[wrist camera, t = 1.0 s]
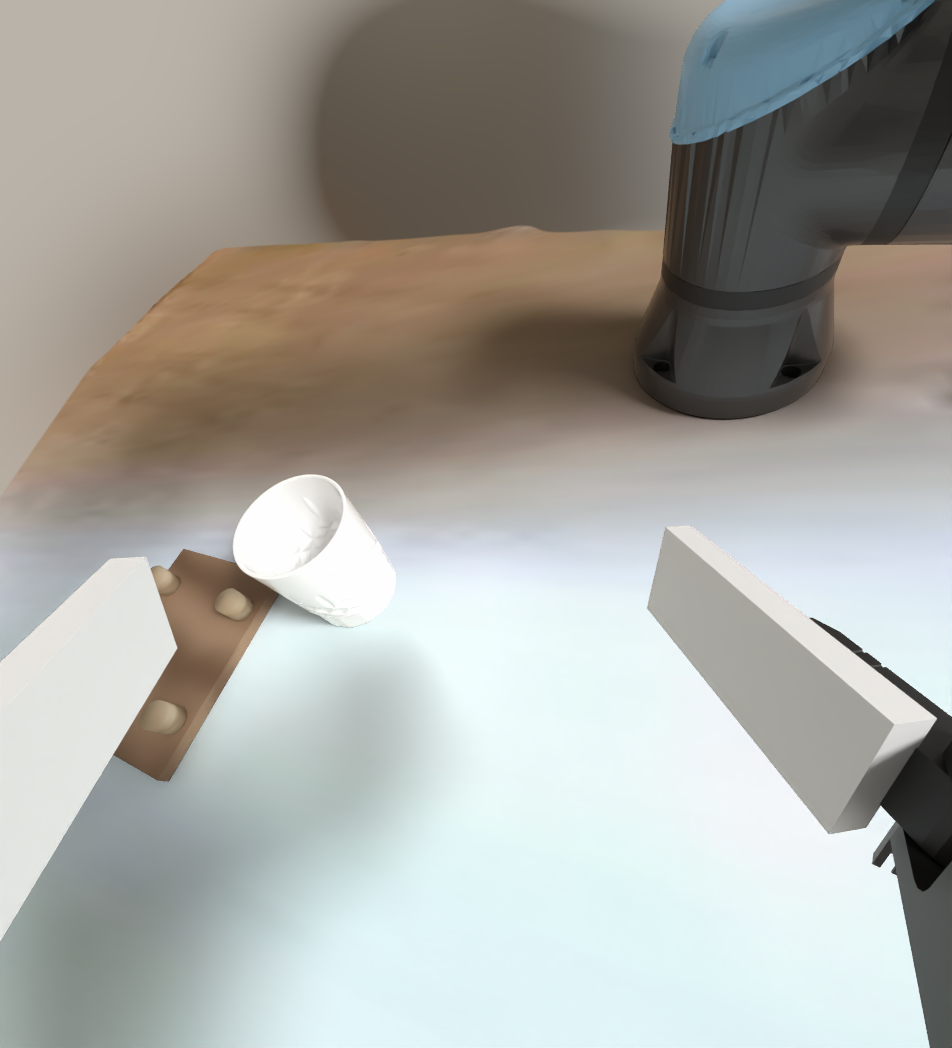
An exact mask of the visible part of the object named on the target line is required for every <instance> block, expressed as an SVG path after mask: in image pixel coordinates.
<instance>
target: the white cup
mask: <svg viewBox="0 0 952 1048" xmlns="http://www.w3.org/2000/svg"><path fill="white" fill-rule="evenodd" d="M233 555H234V559H235V561H236V563H237V565H238V566H239V568H240V569H241V570H242V571H243V572H244V573H246V574H247V575H249V576H251V577H252V578H254V579H256V580H257V581H259V582H261V583H262V584H264V585H266V586H267V587H269V588H270V589H272V590H274V591H275V592H277V593H279V594H280V595H282V596H283V597H285V598H287V599H288V600H290V601H292V602H293V603H295V604H297V605H299V606H301V607H302V608H304V609H306V610H307V611H309V612H311V613H314V614H316V615H319V616H320V617H322V618H324V619H325V620H327V621H328V622H330V623H331V624H333V625H335V626H342V627H350V628H353V627H356V626H359V625H362V624H365V623H368V622H370V621H371V620H373V619H374V618H375V617H376V616H377V615H379V614H380V613H381V612H382V611H383V610H385V608H386V607H387V605H388V603H389V601H390V599H391V598H392V596H393V594H394V592H395V583H396V573H395V570H394V568H393V566H392V564H391V561H390V560H389V558H388V557H387V555H386V554H385V553H384V551H383V549H382V547H381V545H380V544H379V542H378V541H377V539H376V538H375V536H374V534H373V533H372V531H371V530H370V528H369V527H368V525H367V524H366V523H365V521H364V520H363V518H362V517H361V516H360V514H359V513H358V511H357V510H356V509H355V507H354V506H353V504H352V503H351V502H350V500H349V499H348V497H347V496H346V494H345V493H344V492H343V490H342V489H341V487H340V486H339V485H338V484H337V483H336V482H335V481H333V480H332V479H330V478H328V477H325V476H322V475H315V474H307V475H300V476H296V477H292V478H289V479H286V480H284V481H282V482H280V483H278V484H276V485H274V486H273V487H271V488H270V489H268V490H267V491H265V492H264V493H263V494H262V495H260V496H259V497H258V498H257V499H256V500H255V501H254V502H253V503H252V504H251V505H250V507H249V508H248V509H247V510H246V512H245V513H244V515H243V516H242V518H241V520H240V521H239V523H238V526H237V528H236V531H235V534H234V538H233Z"/></svg>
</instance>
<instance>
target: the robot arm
mask: <svg viewBox="0 0 952 1048" xmlns="http://www.w3.org/2000/svg"><path fill="white" fill-rule="evenodd" d="M670 138H671V139H672V142H673V143H672V155H671V167H670V179H669V190H668V204H667V214H666V227H665V238H664V249H663V262H662V271H661V278H660V281H659V283H658V285H657V287H656V290H655V292H654V294H653V297H652V299H651V301H650V304H649V306H648V308H647V311H646V313H645V315H644V317H643V320H642V322H641V324H640V327H639V329H638V332H637V335H636V339H635V346H634V371H635V374H636V377H637V379H638V381H639V383H640V384H641V386H642V387H643V388H644V390H645V391H646V392H647V393H648V394H649V395H651V396H652V397H653V398H654V399H656V400H657V401H659V402H660V403H662V404H664V405H666V406H668V407H670V408H672V409H675V410H677V411H680V412H683V413H687V414H691V415H695V416H700V417H708V418H721V419H729V418H743V417H751V416H756V415H761V414H765V413H768V412H772V411H775V410H777V409H780V408H782V407H785V406H787V405H789V404H791V403H792V402H794V401H796V400H797V399H799V398H800V397H802V396H803V395H805V394H806V393H807V392H808V391H809V390H810V389H811V388H812V387H813V386H814V385H815V383H816V382H817V380H818V379H819V377H820V375H821V373H822V371H823V369H824V366H825V364H826V362H827V360H828V358H829V355H830V353H831V350H832V345H833V339H834V276H835V273H836V271H837V268H838V266H839V263H840V260H841V258H842V255H843V253H844V250H845V248H846V247H847V246H851V245H919V244H952V0H725V1H724V2H723V3H722V4H720V5H719V6H718V7H717V8H716V9H715V10H713V11H712V12H711V13H710V14H709V15H708V17H707V18H706V19H705V20H704V21H703V22H702V23H701V25H700V26H699V28H698V29H697V30H696V32H695V33H694V35H693V37H692V39H691V41H690V43H689V45H688V47H687V50H686V52H685V55H684V59H683V64H682V70H681V77H680V85H679V91H678V98H677V105H676V112H675V119H674V120H673V123H672V126H671V130H670ZM647 609H648V610H649V611H650V612H651V614H652V615H653V616H654V617H655V619H656V620H657V621H658V622H659V624H660V625H661V626H662V627H663V629H664V630H665V631H666V632H667V634H668V635H669V636H670V637H671V639H672V640H673V641H674V642H675V644H676V645H677V646H678V647H679V649H680V650H681V651H682V652H683V654H684V655H685V656H686V657H687V659H688V660H689V661H690V662H691V663H692V665H693V666H694V667H695V668H696V670H697V671H698V672H699V673H700V675H701V676H702V677H703V678H704V680H705V681H706V682H707V683H708V685H709V686H710V687H711V688H712V690H713V691H714V692H715V693H716V695H717V696H718V697H719V698H720V700H721V701H722V702H723V703H724V705H725V706H726V707H727V708H728V709H729V711H730V712H731V713H732V714H733V716H734V717H735V718H736V719H737V721H738V722H739V723H740V724H741V726H742V727H743V728H744V729H745V731H746V732H747V733H748V734H749V736H750V737H751V738H752V739H753V741H754V742H755V743H756V744H757V746H758V747H759V748H760V749H761V751H762V752H763V753H764V754H765V756H766V757H767V758H768V759H769V760H770V762H771V763H772V764H773V765H774V767H775V768H776V769H777V770H778V772H779V773H780V774H781V775H782V777H783V778H784V779H785V780H786V782H787V783H788V784H789V785H790V787H791V788H792V789H793V790H794V792H795V793H796V794H797V795H798V797H799V798H800V799H801V800H802V802H803V803H804V804H805V805H806V806H807V808H808V809H809V810H810V811H811V813H812V814H813V815H814V816H815V818H816V819H817V820H818V821H819V823H820V824H821V825H822V826H823V828H824V829H825V830H826V831H827V833H828V834H833V833H839V832H844V831H850V830H856V829H861V828H866V827H867V825H868V824H869V822H870V821H871V819H872V818H873V816H874V815H875V813H876V812H877V810H878V809H879V807H880V806H882V807H883V808H884V809H885V810H886V811H887V813H888V814H889V815H890V816H891V817H892V818H893V819H894V820H895V821H896V822H895V823H894V825H893V826H892V827H891V829H890V830H889V832H888V833H887V835H886V836H885V838H884V839H883V840H882V842H881V843H880V845H879V846H878V848H877V849H876V851H875V852H874V854H873V862H872V864H874V865H876V866H878V867H881V865H882V864H883V863H884V861H885V860H886V859H887V857H888V856H889V854H890V853H892V854H893V857H894V862H895V867H894V868H893V869H892V871H891V873H893V874H895V875H897V878H898V883H899V888H900V893H901V899H902V904H903V909H904V914H905V920H906V925H907V930H908V935H909V940H910V946H911V951H912V956H913V961H914V967H915V972H916V977H917V982H918V987H919V993H920V998H921V1003H922V1008H923V1014H924V1019H925V1024H926V1029H927V1034H928V1040H929V1045H930V1048H952V717H951V716H950V715H948V714H947V713H946V712H944V711H943V710H942V709H940V708H939V707H938V706H937V705H935V704H934V703H933V702H931V701H930V700H929V699H927V698H926V697H925V696H923V695H922V694H921V693H919V692H918V691H917V690H916V689H914V688H913V687H912V686H910V685H909V684H908V683H906V682H905V681H904V680H902V679H901V678H900V677H898V676H897V675H896V674H894V673H893V672H892V671H891V670H889V669H888V668H887V667H882V666H881V663H880V662H879V661H877V660H876V659H875V658H873V657H872V656H871V655H869V654H868V653H863V651H862V648H860V647H859V646H858V645H856V644H855V643H854V642H852V641H851V640H850V639H848V638H847V637H846V636H845V635H843V634H842V633H841V632H839V631H837V630H835V629H833V628H831V627H829V626H827V625H825V624H823V623H821V622H820V621H818V620H816V619H814V618H808V617H807V616H806V615H804V614H803V613H802V612H801V611H799V610H798V609H797V608H795V607H794V606H793V605H792V604H790V603H789V602H788V601H787V600H785V599H784V598H783V597H781V596H780V595H779V594H778V593H776V592H775V591H774V590H772V589H771V588H770V587H769V586H767V585H766V584H765V583H764V582H762V581H761V580H760V579H758V578H757V577H756V576H755V575H753V574H752V573H751V572H750V571H748V570H747V569H746V568H744V567H743V566H742V565H741V564H739V563H738V562H737V561H735V560H734V559H733V558H732V557H730V556H729V555H728V554H727V553H725V552H724V551H723V550H721V549H720V548H719V547H718V546H716V545H715V544H714V543H713V542H711V541H710V540H709V539H707V538H706V537H705V536H704V535H702V534H701V533H700V532H698V531H697V530H696V529H695V528H693V527H692V526H674V527H665V531H664V536H663V540H662V545H661V549H660V553H659V558H658V562H657V567H656V571H655V576H654V580H653V584H652V589H651V593H650V598H649V602H648V606H647ZM176 650H177V645H176V642H175V640H174V637H173V634H172V631H171V628H170V625H169V622H168V619H167V616H166V613H165V610H164V607H163V604H162V601H161V598H160V595H159V593H158V590H157V587H156V584H155V581H154V578H153V575H152V572H151V569H150V566H149V563H148V560H147V557H130V558H113V559H109V560H108V561H107V562H106V563H105V564H104V565H103V566H102V567H101V568H100V569H99V570H97V571H96V572H95V573H94V574H93V575H92V576H91V577H90V578H89V579H88V580H87V581H86V582H85V583H84V584H83V585H82V586H81V587H79V588H78V589H77V590H76V591H75V592H74V593H73V594H72V595H71V596H70V597H69V598H68V599H67V600H66V601H65V602H64V603H62V604H61V605H60V606H59V607H58V608H57V609H56V610H55V611H54V612H53V613H52V614H51V615H50V616H49V617H48V618H47V619H46V620H44V621H43V622H42V623H41V624H40V625H39V626H38V627H37V628H36V629H35V630H34V631H33V632H32V633H31V634H30V635H29V636H28V637H26V638H25V639H24V640H23V641H22V642H21V643H20V644H19V645H18V646H17V647H16V648H15V649H14V650H13V651H12V652H11V653H10V654H8V655H7V656H6V657H5V658H4V659H3V660H2V661H1V662H0V941H1V939H2V938H3V936H4V934H5V933H6V931H7V929H8V928H9V926H10V924H11V923H12V921H13V919H14V918H15V916H16V915H17V913H18V911H19V910H20V908H21V906H22V905H23V903H24V901H25V900H26V898H27V896H28V895H29V893H30V891H31V890H32V888H33V886H34V885H35V883H36V881H37V880H38V878H39V876H40V875H41V873H42V871H43V870H44V868H45V867H46V865H47V863H48V862H49V860H50V858H51V857H52V855H53V853H54V852H55V850H56V848H57V847H58V845H59V843H60V842H61V840H62V838H63V837H64V835H65V833H66V832H67V830H68V828H69V827H70V825H71V823H72V822H73V820H74V819H75V817H76V815H77V814H78V812H79V810H80V809H81V807H82V805H83V804H84V802H85V800H86V799H87V797H88V795H89V794H90V792H91V790H92V789H93V787H94V785H95V784H96V782H97V780H98V779H99V777H100V775H101V774H102V772H103V771H104V769H105V767H106V766H107V764H108V762H109V761H110V759H111V757H112V756H113V754H114V752H115V751H116V749H117V747H118V746H119V744H120V742H121V741H122V739H123V737H124V736H125V734H126V732H127V731H128V729H129V727H130V726H131V724H132V723H133V721H134V719H135V718H136V716H137V714H138V713H139V711H140V709H141V708H142V706H143V704H144V703H145V701H146V699H147V698H148V696H149V694H150V693H151V691H152V689H153V688H154V686H155V684H156V683H157V681H158V680H159V678H160V676H161V675H162V673H163V671H164V670H165V668H166V666H167V665H168V663H169V661H170V660H171V658H172V656H173V655H174V653H175V651H176Z"/></svg>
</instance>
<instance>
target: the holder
mask: <svg viewBox="0 0 952 1048" xmlns="http://www.w3.org/2000/svg"><path fill="white" fill-rule="evenodd" d="M151 572H152V575H153V578H154V581H155V584H156V587H157V590H158V593H159V595H160V598H161V601H162V604H163V607H164V610H165V613H166V616H167V619H168V622H169V625H170V628H171V631H172V634H173V637H174V640H175V642H176V645H177V650H176V651H175V653H174V655H173V656H172V658H171V660H170V661H169V663H168V665H167V666H166V668H165V670H164V671H163V673H162V675H161V676H160V678H159V680H158V681H157V683H156V684H155V686H154V688H153V689H152V691H151V693H150V694H149V696H148V698H147V699H146V701H145V703H144V704H143V706H142V708H141V709H140V711H139V713H138V714H137V716H136V718H135V719H134V721H133V723H132V724H131V726H130V727H129V729H128V731H127V732H126V734H125V736H124V737H123V739H122V741H121V742H120V744H119V746H118V747H117V749H116V751H115V752H114V754H113V755H115V756H116V757H118V758H120V759H121V760H123V761H125V762H127V763H128V764H130V765H132V766H134V767H135V768H137V769H139V770H141V771H142V772H144V773H146V774H148V775H149V776H151V777H153V778H154V779H156V780H160V781H169V780H170V778H171V777H172V775H173V773H174V772H175V770H176V768H177V766H178V765H179V763H180V761H181V760H182V758H183V756H184V755H185V753H186V751H187V749H188V748H189V746H190V744H191V743H192V741H193V739H194V737H195V736H196V734H197V732H198V731H199V729H200V727H201V726H202V724H203V722H204V720H205V719H206V717H207V715H208V714H209V712H210V710H211V708H212V707H213V705H214V703H215V702H216V700H217V698H218V697H219V695H220V693H221V691H222V690H223V688H224V686H225V685H226V683H227V681H228V679H229V678H230V676H231V674H232V673H233V671H234V669H235V668H236V666H237V664H238V662H239V661H240V659H241V657H242V656H243V654H244V652H245V650H246V649H247V647H248V645H249V644H250V642H251V640H252V639H253V637H254V635H255V633H256V632H257V630H258V628H259V627H260V625H261V623H262V621H263V620H264V618H265V616H266V615H267V613H268V611H269V610H270V608H271V606H272V604H273V603H274V601H275V599H276V598H277V596H278V594H279V593H277V592H275V591H274V590H272V589H270V588H269V587H267V586H266V585H264V584H262V583H261V582H259V581H257V580H256V579H254V578H252V577H251V576H249V575H247V574H246V573H244V572H243V571H242V570H241V569H240V568H239V566H238V565H237V564H236V563H232V562H229V561H225V560H222V559H218V558H214V557H211V556H207V555H204V554H200V553H197V552H193V551H189V550H186V549H183V550H182V552H181V553H180V554H179V556H178V557H177V559H176V560H175V561H174V563H173V564H172V566H171V567H170V568H169V570H166V569H165V568H163V567H161V566H155V567H152V568H151Z"/></svg>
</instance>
